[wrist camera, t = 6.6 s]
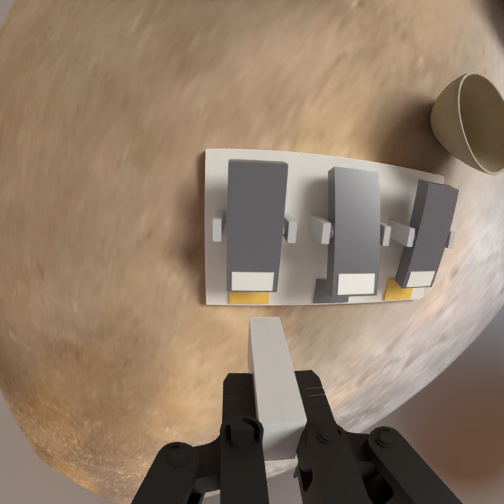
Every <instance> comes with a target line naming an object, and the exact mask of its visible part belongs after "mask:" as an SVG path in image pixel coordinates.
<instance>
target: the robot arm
mask: <svg viewBox="0 0 504 504" xmlns="http://www.w3.org/2000/svg"><path fill="white" fill-rule="evenodd" d="M248 372H249V373H229V374H228V375H227V377H226V378H225V380H224V381H223V411H222V424H221V428H220V435H219V437H218V438H217V439H216V440H214V441H213V442H211V443H208V444H205V445H200V446H195V447H192V446H191V445H188V444H186V443H182V442H173V443H169V444H167V445H165V446H163V447H162V448H161V450H160V451H159V452H158V454H157V456H156V458H155V460H154V462H153V463H152V465H151V467H150V469H149V471H148V473H147V475H146V477H145V478H144V480H143V482H142V484H141V486H140V488H139V490H138V491H137V493H136V495H135V497H134V499H133V501H132V503H131V504H201V503H202V500H203V497H204V495H205V493H206V492H211V491H215V490H219V489H220V504H269V498H268V489H267V480H266V471H265V462H264V461H269V460H283V459H294V458H295V455H296V453H297V458H298V464H297V467H296V469H295V472H294V478H296V477H297V475H298V480H299V486H300V490H301V496H302V502H303V504H462V503H461V501H460V500H459V499H458V498H457V497H456V496H455V495H454V494H453V493H452V492H451V491H450V489H449V488H448V487H447V486H446V485H445V484H444V483H443V481H442V480H441V479H440V478H439V477H438V476H437V475H436V474H435V473H434V471H433V470H432V469H431V468H430V467H429V466H428V465H427V464H426V462H424V460H423V459H422V458H421V457H420V456H419V455H418V454H417V452H416V451H415V450H414V449H413V448H412V447H411V446H410V444H409V443H408V442H407V441H406V440H405V439H404V438H403V437H402V435H401V434H400V433H399V432H398V431H396V430H395V429H394V428H391V427H384V426H382V427H378V428H375V429H374V430H373V431H372V432H371V433H370V434H359V433H351V432H347V431H345V430H343V428H342V427H340V426H339V425H337V424H336V422H335V420H334V417H333V414H332V412H331V409H330V406H329V403H328V400H327V398H326V395H325V392H324V389H323V388H322V384H321V381H320V378H319V377H318V376H317V375H316V374H315V373H314V372H313V371H312V370H306V371H294V369H293V366H292V362H291V358H290V355H289V351H288V347H287V344H286V340H285V336H284V333H283V329H282V325H281V322H280V318H279V317H249V336H248Z"/></svg>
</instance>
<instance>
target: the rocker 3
mask: <svg viewBox="0 0 504 504" xmlns="http://www.w3.org/2000/svg"><path fill="white" fill-rule="evenodd" d="M458 192H459V190H458V189H456V188H453V187H451V186H449V185H445V184H440V183H436V182H431V181H426V180H421V179H418V185H417V190H416V196H415V201H414V206H413V211H412V216H411V220H410V224H409V226H410V227H412V228H415V233H414V239H413V245H412V247H407V246H405V245H404V249H403V252H402V256H401V260H400V263H399V266H398V270H397V273H396V276H395V281H396V282H397V283H398V285H399V286H400V287H401V288H402V289H405V288H422V287H432V284H433V282H434V279H435V276H436V273H437V270H438V267H439V264H440V261H441V258H442V255H443V252H444V249H445V245H446V242H447V238H448V235H449V231H450V227H451V223H452V219H453V215H454V211H455V206H456V202H457V197H458Z"/></svg>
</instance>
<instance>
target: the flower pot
mask: <svg viewBox="0 0 504 504" xmlns="http://www.w3.org/2000/svg"><path fill="white" fill-rule="evenodd" d="M430 123H431V128H432V131H433V133H434V135H435V137H436V139H437V140H438V141H439V143H440V144H441V145H442V146H443V147H444V148H445V149H446V150H447V151H449V152H450V153H451V154H452V155H454V156H455V157H456V158H458V159H459V160H461V161H462V162H464V163H465V164H467V165H469V166H471V167H473V168H475V169H477V170H479V171H482V172H484V173H487V174H491V175H498V174H500V173H502V172H503V171H504V99H503V97H502V95H501V94H500V92H499V90H498V89H497V88H496V86H495V85H494V84H493V83H492V82H491V81H490V80H489V79H488V78H487V77H486V76H484V75H482V74H480V73H478V72H469V73H467V74H464V75H462V76H460V77H459V78H457V79H456V80H454V81H453V82H452V83H450V84H449V85H448V86H447V87H446V88H445V89H444V90H443V91H442V93H441V94H440V95H439V97H438V98H437V100H436V101H435V103H434V105H433V108H432V110H431V114H430Z"/></svg>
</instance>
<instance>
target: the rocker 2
mask: <svg viewBox="0 0 504 504" xmlns="http://www.w3.org/2000/svg"><path fill="white" fill-rule="evenodd" d="M328 222H330V223H331V229H330V238H329V244H328V256H327V278H326V294H328V295H329V296H331V297H354V296H377V288H378V274H379V256H380V185H379V172H373V171H366V170H359V169H351V168H343V167H333V168H332V169H330V170H329V171H328Z"/></svg>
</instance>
